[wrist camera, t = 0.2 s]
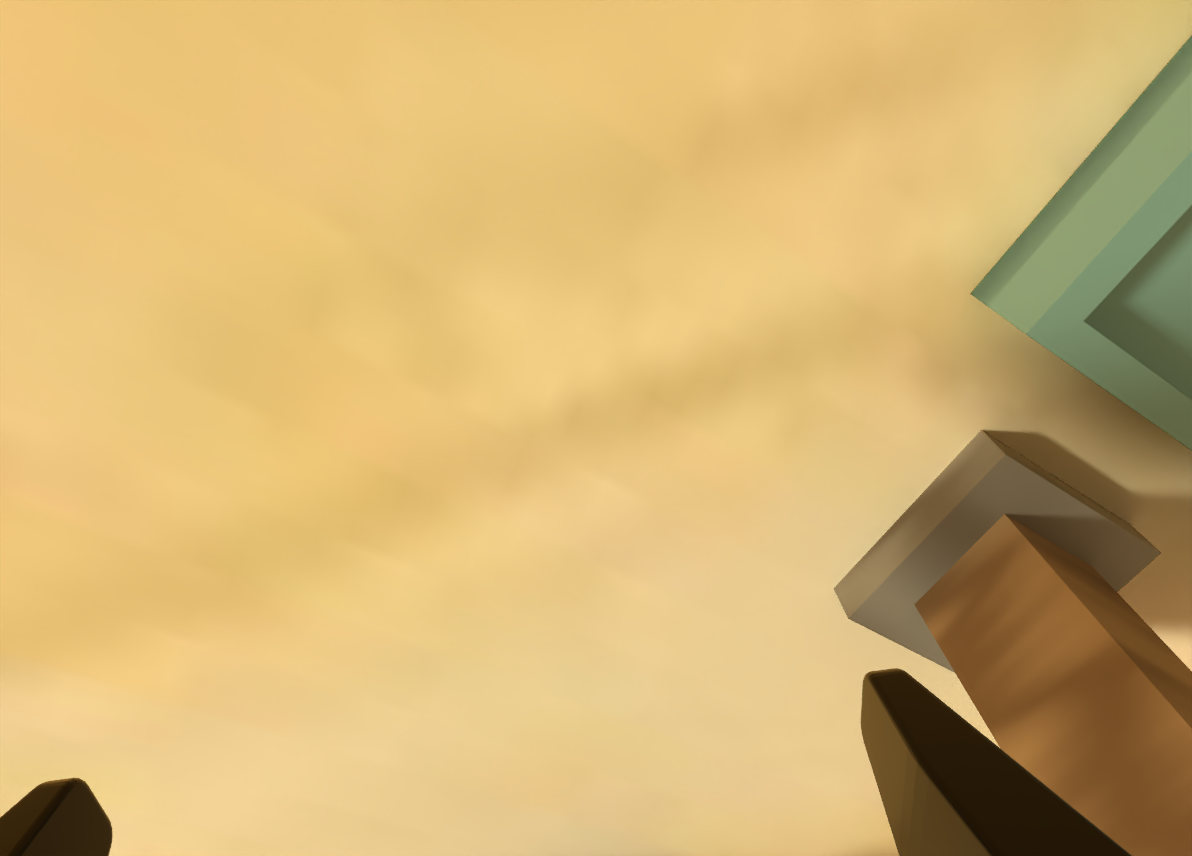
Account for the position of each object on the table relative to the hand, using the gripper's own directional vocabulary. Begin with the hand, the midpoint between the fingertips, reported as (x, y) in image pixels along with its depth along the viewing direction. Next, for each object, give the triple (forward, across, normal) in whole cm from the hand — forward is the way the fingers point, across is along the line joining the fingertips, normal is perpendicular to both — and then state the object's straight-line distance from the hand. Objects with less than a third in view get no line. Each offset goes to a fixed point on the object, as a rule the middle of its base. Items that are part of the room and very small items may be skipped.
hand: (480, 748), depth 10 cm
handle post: (+15, -14, +11) cm, 23 cm away
